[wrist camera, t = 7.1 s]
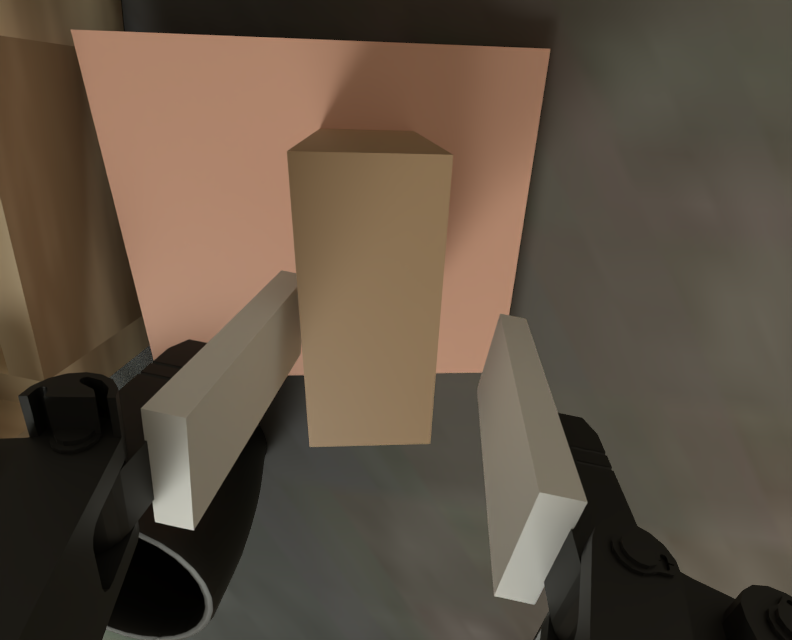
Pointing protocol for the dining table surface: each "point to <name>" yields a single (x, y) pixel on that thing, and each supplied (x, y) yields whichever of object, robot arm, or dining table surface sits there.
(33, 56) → the birch box
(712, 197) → the dining table surface
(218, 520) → the mug
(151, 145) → the cover plate
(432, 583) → the dining table surface
